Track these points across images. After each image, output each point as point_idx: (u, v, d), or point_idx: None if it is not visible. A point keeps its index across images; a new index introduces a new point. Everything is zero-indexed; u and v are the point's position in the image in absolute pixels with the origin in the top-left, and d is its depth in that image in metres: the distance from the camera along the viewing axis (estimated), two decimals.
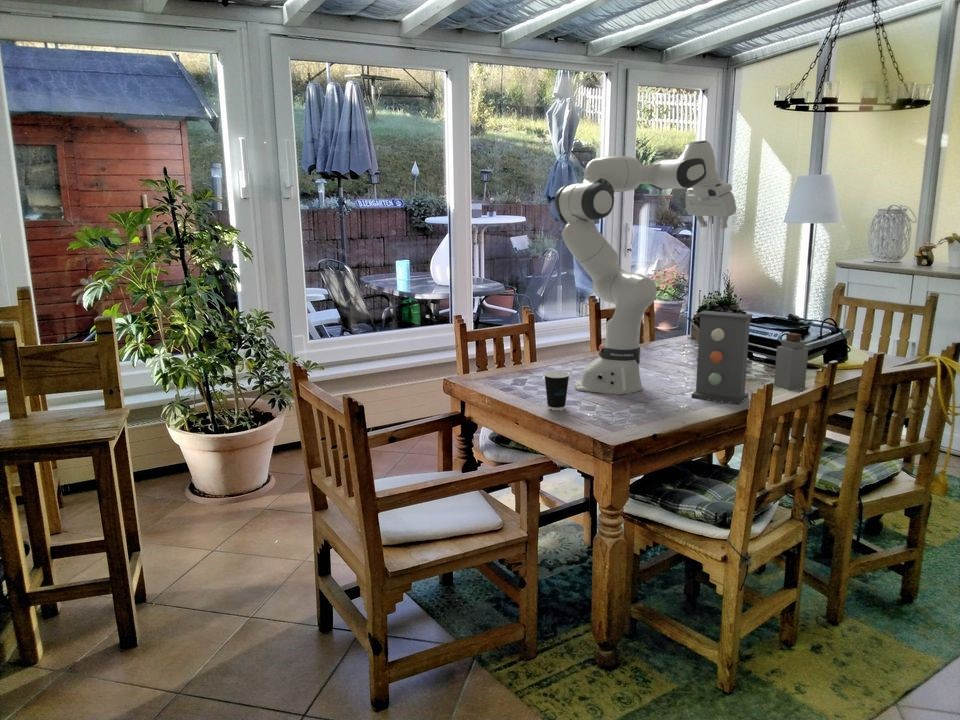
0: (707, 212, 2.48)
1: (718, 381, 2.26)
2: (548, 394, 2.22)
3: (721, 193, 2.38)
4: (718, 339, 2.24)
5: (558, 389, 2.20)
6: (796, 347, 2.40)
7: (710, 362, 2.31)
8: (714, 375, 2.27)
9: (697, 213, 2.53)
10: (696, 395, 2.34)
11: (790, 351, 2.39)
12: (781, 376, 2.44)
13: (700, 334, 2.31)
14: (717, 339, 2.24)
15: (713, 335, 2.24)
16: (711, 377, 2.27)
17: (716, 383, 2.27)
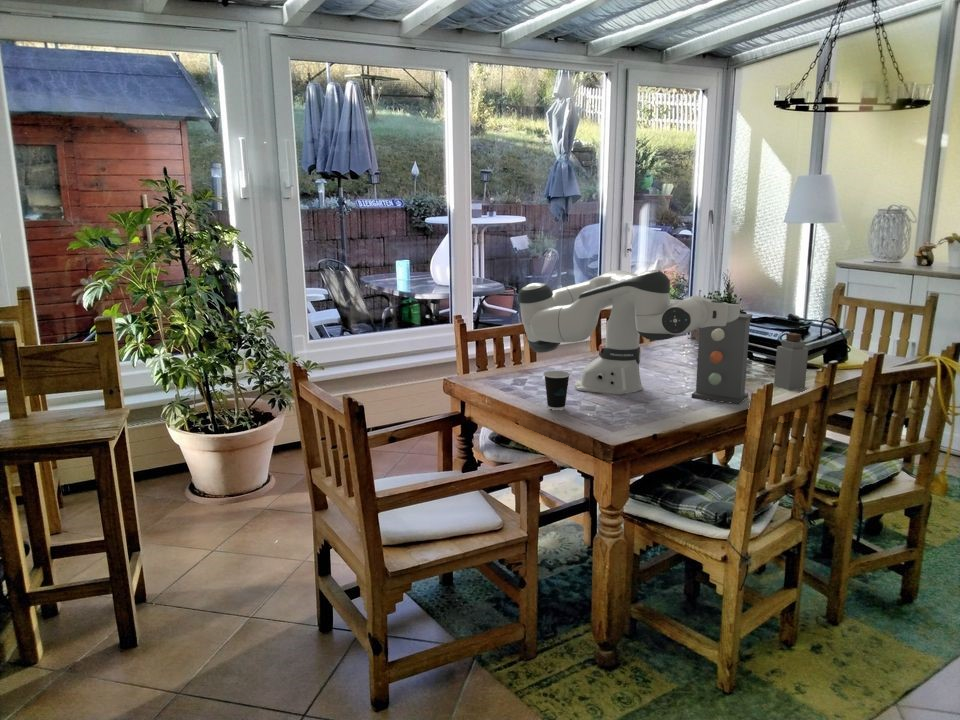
0: None
1: (718, 381, 2.26)
2: (548, 394, 2.22)
3: (726, 321, 1.98)
4: (718, 339, 2.24)
5: (558, 389, 2.20)
6: (796, 347, 2.40)
7: (710, 362, 2.31)
8: (714, 375, 2.27)
9: None
10: (696, 395, 2.34)
11: (790, 351, 2.39)
12: (781, 376, 2.44)
13: (700, 334, 2.31)
14: (717, 339, 2.24)
15: (713, 335, 2.24)
16: (711, 377, 2.27)
17: (716, 383, 2.27)
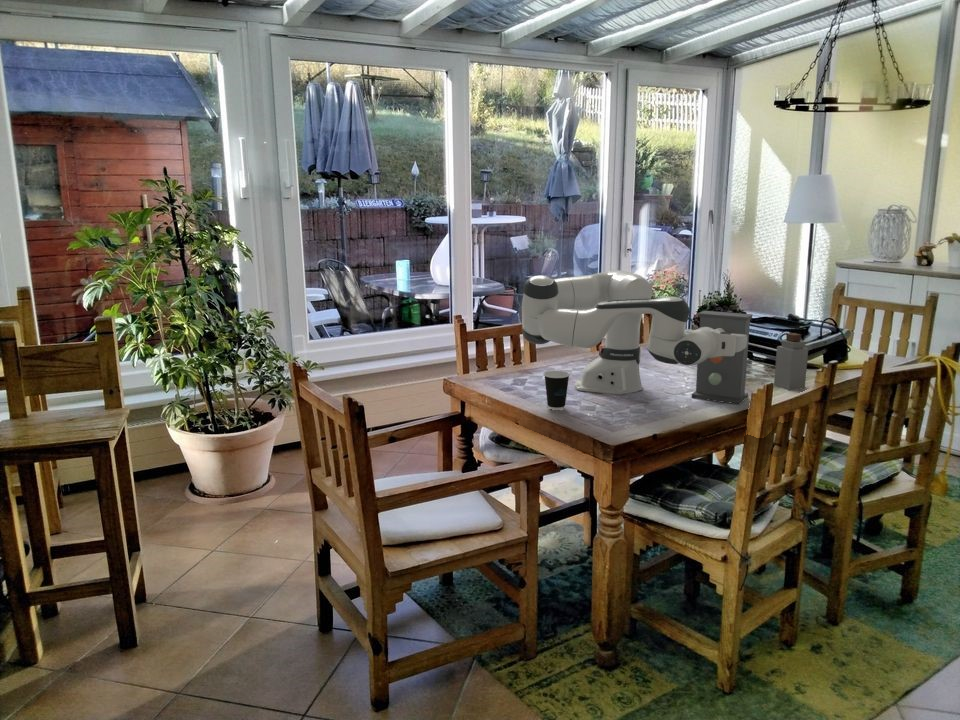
0: None
1: (718, 381, 2.26)
2: (548, 394, 2.22)
3: (735, 351, 2.10)
4: None
5: (558, 389, 2.20)
6: (796, 347, 2.40)
7: (710, 362, 2.31)
8: (714, 375, 2.27)
9: None
10: (696, 395, 2.34)
11: (790, 351, 2.39)
12: (781, 376, 2.44)
13: None
14: None
15: None
16: (711, 377, 2.27)
17: (716, 383, 2.27)
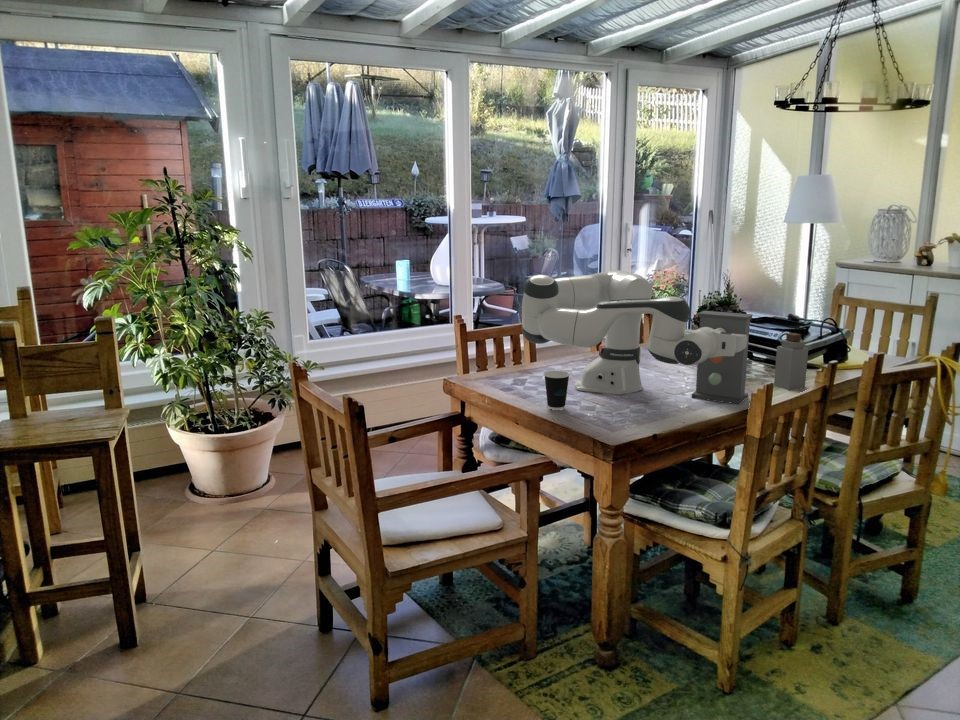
0: None
1: (718, 381, 2.26)
2: (548, 394, 2.22)
3: (735, 351, 2.10)
4: None
5: (558, 389, 2.20)
6: (796, 347, 2.40)
7: (710, 362, 2.31)
8: (714, 375, 2.27)
9: None
10: (696, 395, 2.34)
11: (790, 351, 2.39)
12: (781, 376, 2.44)
13: None
14: None
15: None
16: (711, 377, 2.27)
17: (716, 383, 2.27)
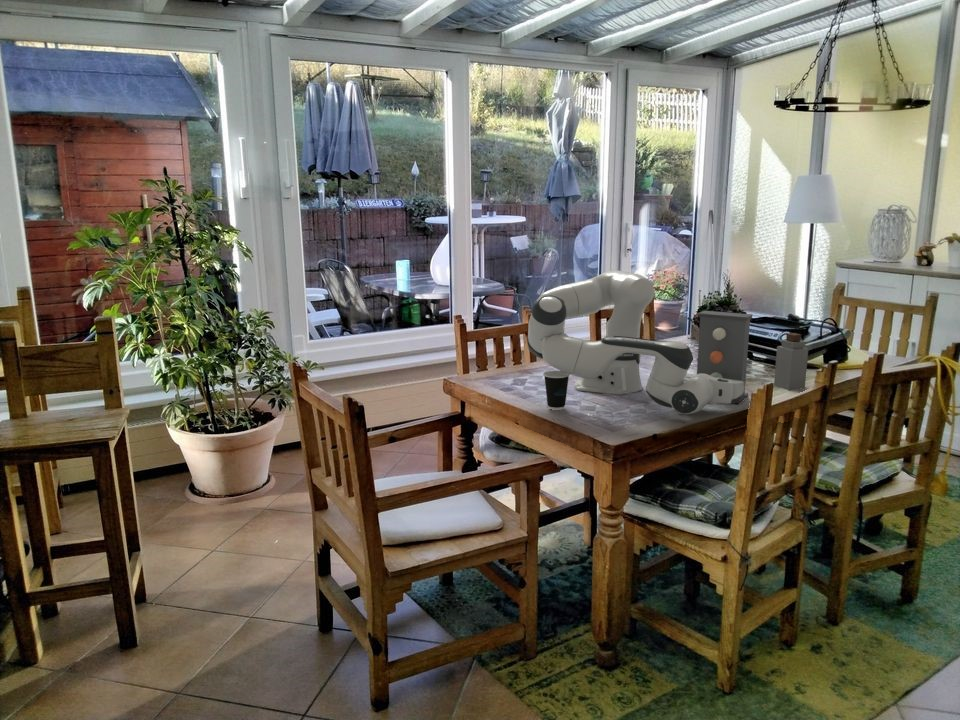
0: None
1: None
2: (548, 394, 2.22)
3: (731, 398, 2.13)
4: (719, 338, 2.25)
5: (558, 389, 2.20)
6: (796, 347, 2.40)
7: (710, 362, 2.31)
8: (715, 374, 2.27)
9: None
10: None
11: (790, 351, 2.39)
12: (781, 376, 2.44)
13: (700, 334, 2.31)
14: (718, 338, 2.25)
15: (714, 335, 2.25)
16: None
17: None
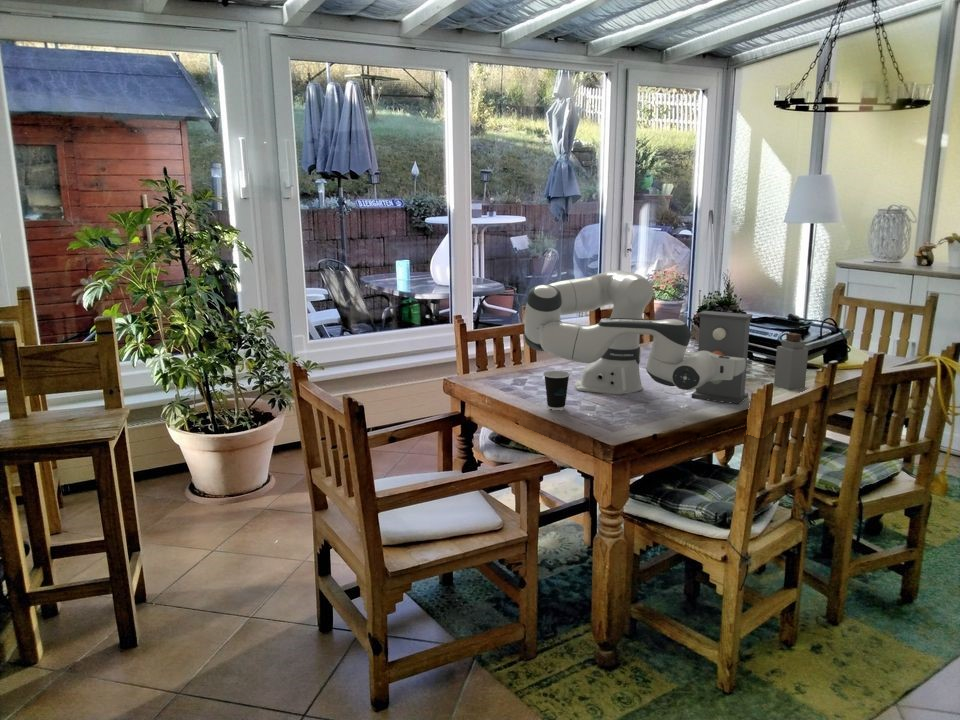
0: None
1: (719, 380, 2.27)
2: (548, 394, 2.22)
3: (733, 375, 2.11)
4: (719, 338, 2.25)
5: (558, 389, 2.20)
6: (796, 347, 2.40)
7: None
8: None
9: None
10: (696, 395, 2.34)
11: (790, 351, 2.39)
12: (781, 376, 2.44)
13: (700, 334, 2.31)
14: (718, 338, 2.25)
15: (714, 335, 2.25)
16: None
17: (717, 382, 2.28)
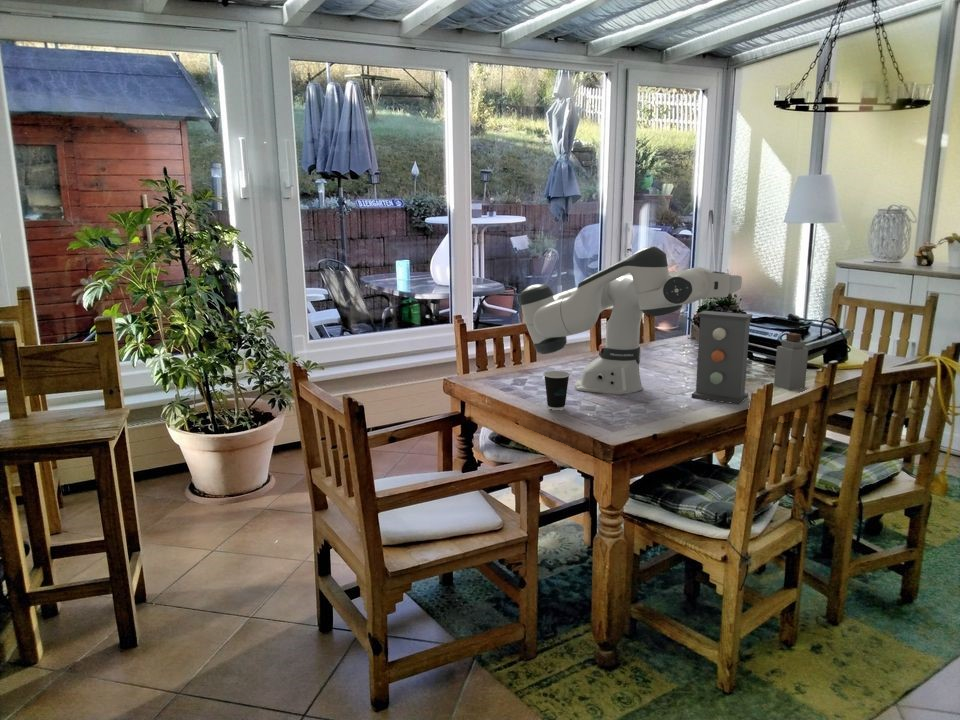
0: None
1: (719, 380, 2.27)
2: (548, 394, 2.22)
3: (728, 292, 1.97)
4: (719, 338, 2.25)
5: (558, 389, 2.20)
6: (796, 347, 2.40)
7: (710, 362, 2.31)
8: (715, 374, 2.28)
9: None
10: (696, 395, 2.34)
11: (790, 351, 2.39)
12: (781, 376, 2.44)
13: (700, 334, 2.31)
14: (718, 338, 2.25)
15: (714, 335, 2.25)
16: (712, 376, 2.28)
17: (717, 382, 2.28)
